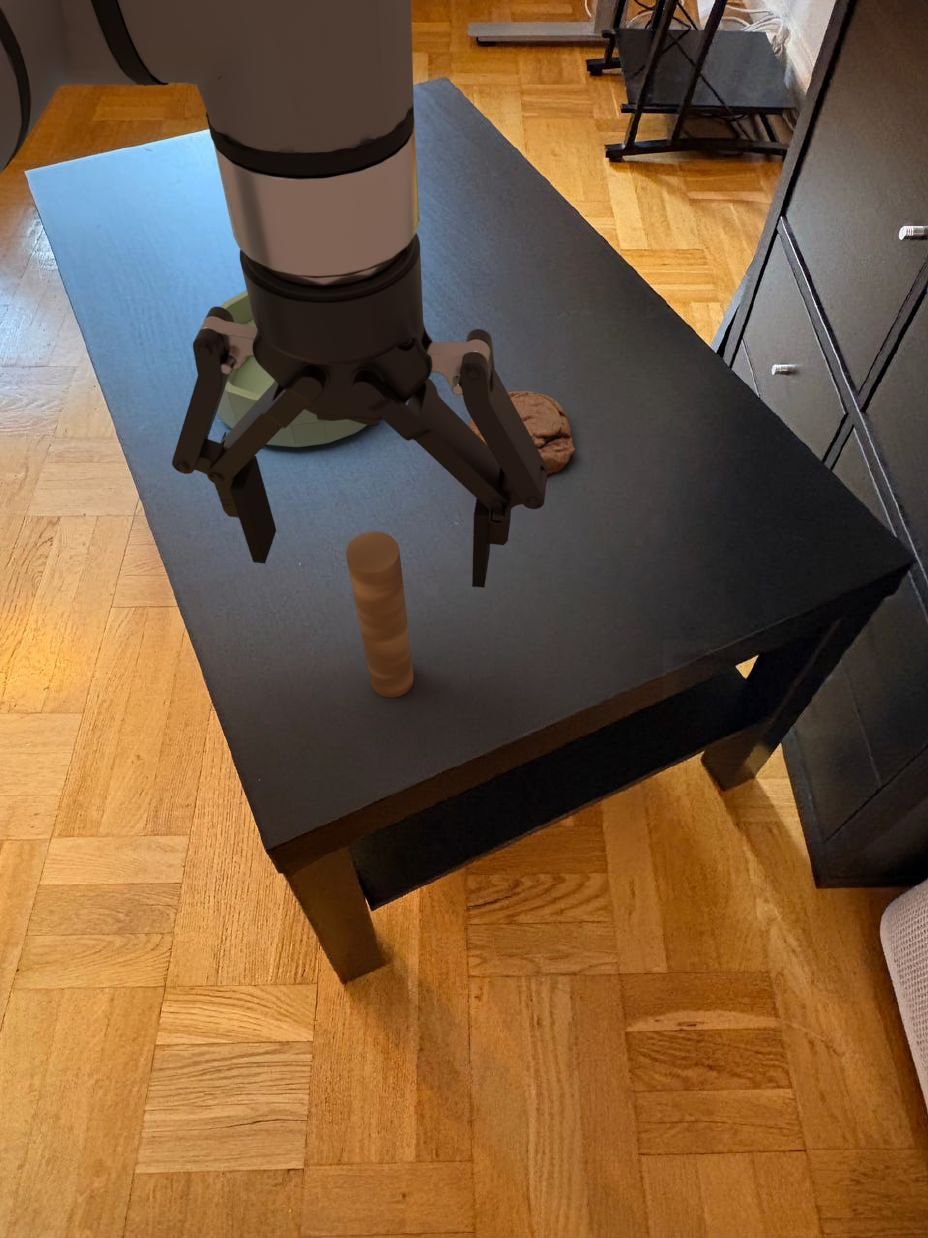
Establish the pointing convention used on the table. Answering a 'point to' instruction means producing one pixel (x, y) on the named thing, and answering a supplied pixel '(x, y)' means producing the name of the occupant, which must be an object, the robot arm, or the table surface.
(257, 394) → the bowl
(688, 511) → the table surface
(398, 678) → the stick
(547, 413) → the cookie
